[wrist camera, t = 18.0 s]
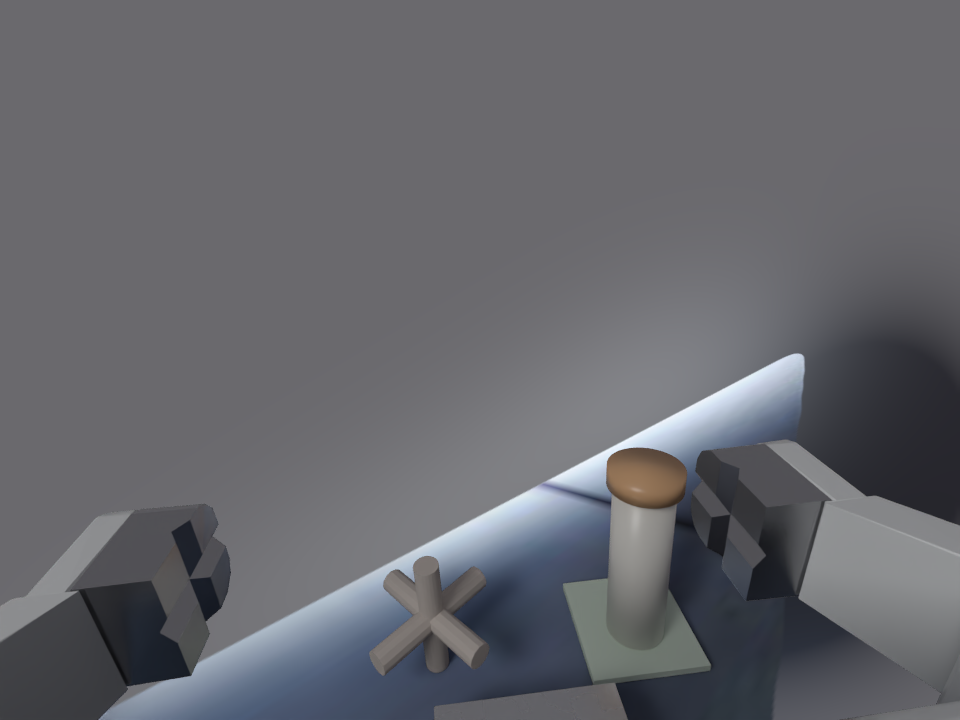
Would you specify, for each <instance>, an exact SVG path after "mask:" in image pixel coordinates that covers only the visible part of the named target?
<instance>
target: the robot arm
mask: <svg viewBox="0 0 960 720" xmlns="http://www.w3.org/2000/svg"><path fill="white" fill-rule="evenodd" d="M695 471H696V473H697V474H698V476H699V477H700V478H701V480H702V482H701V483H700V484H699V485H698V486H697V488H696V489H695V490H694V491H693V492H692V500H691V513H692V518H693V523H694V526H695V528H696V531H697V533H698V535H699V537H700V538H701V540H702V541H703V543H704V544H705V545H706V547H707V548H709V549H711V550H712V551H714V552H716V553H718V554H720V555H721V556H723V562H722V569H723V570H724V572H725V573H726V575H727V576H728V577H729V579H730V580H731V581H732V583H733V584H734V585H735V587H736V588H737V590H738V591H739V592H740V594H741V595H742V596H743V598H744V599H745V600H746V601H752V600H762V599H771V598H781V597H790V596H799V599H800V600H802V601H803V602H805V603H806V604H808V605H809V606H811V607H813V608H814V609H815V610H817V611H818V612H820V613H821V614H823V615H824V616H826V617H827V618H829V619H831V620H832V621H833V622H835V623H836V624H838V625H839V626H841V627H842V628H844V629H845V630H847V631H848V632H850V633H851V634H853V635H854V636H856V637H857V638H859V639H860V640H862V641H863V642H865V643H866V644H868V645H869V646H871V647H872V648H874V649H876V650H877V651H878V652H880V653H882V654H883V655H885V656H886V657H888V658H889V659H891V660H892V661H894V662H895V663H897V664H898V665H900V666H901V667H903V668H904V669H906V670H907V671H909V672H910V673H912V674H913V675H915V676H916V677H918V678H919V679H921V680H922V681H924V682H925V683H927V684H928V685H930V686H932V687H933V688H934V689H936V690H937V691H939V692H940V693H941V695H940V697H939V699H938V701H937V703H936V705H930V706H924V707H918V708H911V709H905V710H899V711H892V712H886V713H880V714H873V715H867V716H861V717H855V718H848V719H842V720H960V526H958V525H956V524H953V523H950V522H947V521H945V520H942V519H939V518H936V517H934V516H931V515H928V514H925V513H923V512H920V511H917V510H914V509H911V508H909V507H906V506H903V505H900V504H897V503H895V502H892V501H889V500H886V499H884V498H881V497H878V496H869V497H866V496H865V495H864V494H862V493H861V492H860V491H858V490H857V489H856V488H854V487H853V486H852V485H851V484H849V483H848V482H847V481H845V480H844V479H843V478H841V477H840V476H839V475H838V474H836V473H835V472H834V471H832V470H831V469H830V468H828V467H827V466H826V465H825V464H823V463H822V462H821V461H819V460H818V459H817V458H815V457H814V456H813V455H811V454H810V453H809V452H808V451H806V450H805V449H803V448H802V447H801V446H800V445H798V444H797V443H796V442H792V441H789V440H780V441H772V442H765V443H758V444H757V445H749V446H740V447H731V448H723V449H714V450H706V451H702V452H701V453H700V455H699V457H698V459H697V464H696V470H695ZM217 526H218V521H217V519H216V517H215V513H214V511H213V508H211V507H210V506H208V505H206V504H198V505H186V506H175V507H164V508H152V509H141V510H131V511H122V512H112V513H106V514H104V515H101V516H99V517H97V518H96V519H95V520H94V521H93V522H92V523H91V524H90V526H88V527H87V529H86V530H85V531H84V532H83V533H82V534H81V535H80V537H79V538H78V539H77V540H76V541H75V542H74V543H73V544H72V545H71V547H70V548H69V549H68V550H67V551H66V552H65V553H64V554H63V555H62V556H61V558H60V559H59V560H58V561H57V562H56V563H55V564H54V565H53V567H52V568H51V569H50V570H49V571H48V572H47V573H46V575H45V576H43V578H42V579H41V580H40V581H39V582H38V583H37V584H36V585H35V587H34V588H33V589H32V590H31V591H30V592H29V593H28V594H27V595H26V597H21V598H14V599H11V600H10V601H8V602H6V603H5V604H3V605H1V606H0V720H98V719H99V718H100V717H101V716H102V715H103V714H104V713H105V712H106V711H107V710H108V709H109V708H110V707H111V706H112V705H113V704H114V703H115V702H116V701H117V700H118V699H119V698H120V697H121V696H122V695H123V694H124V693H125V692H126V691H127V690H128V688H127V686H132V685H138V684H144V683H150V682H157V681H163V680H169V679H175V678H181V677H187V676H191V675H192V673H193V671H194V668H195V666H196V664H197V662H198V659H199V657H200V655H201V652H202V650H203V648H204V646H205V643H206V641H207V639H208V637H209V634H210V633H209V630H208V627H207V625H206V621H207V620H208V619H209V618H210V617H211V616H212V615H213V614H215V613H216V612H217V611H218V610H219V609H221V607H222V605H223V602H224V600H225V597H226V595H227V592H228V587H229V580H230V573H231V571H230V560H229V556H228V552H227V549H226V546H225V545H223V544H222V543H221V542H219V541H218V540H217V539H215V538H214V537H212V536H213V534H214V532H215V530H216V528H217Z"/></svg>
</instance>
